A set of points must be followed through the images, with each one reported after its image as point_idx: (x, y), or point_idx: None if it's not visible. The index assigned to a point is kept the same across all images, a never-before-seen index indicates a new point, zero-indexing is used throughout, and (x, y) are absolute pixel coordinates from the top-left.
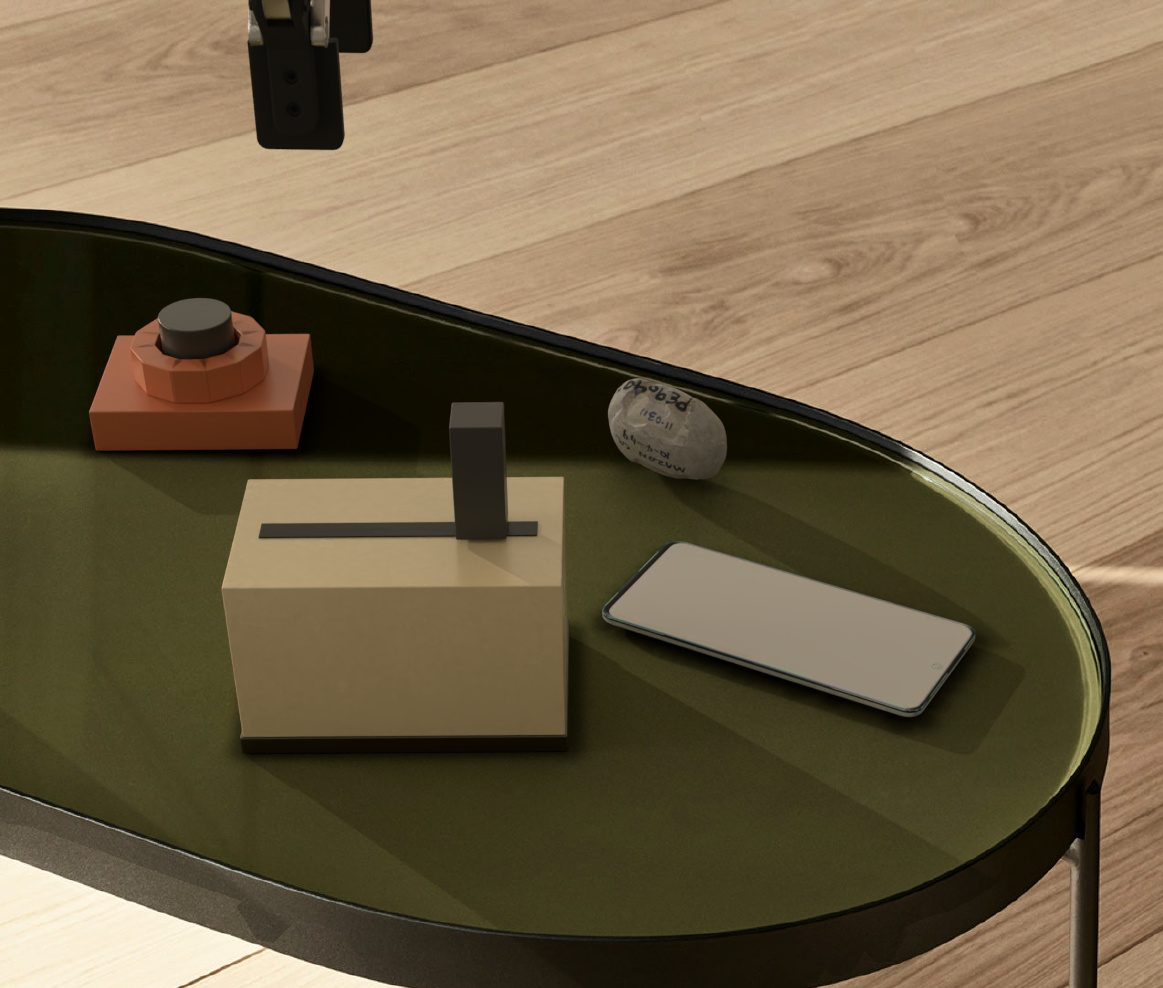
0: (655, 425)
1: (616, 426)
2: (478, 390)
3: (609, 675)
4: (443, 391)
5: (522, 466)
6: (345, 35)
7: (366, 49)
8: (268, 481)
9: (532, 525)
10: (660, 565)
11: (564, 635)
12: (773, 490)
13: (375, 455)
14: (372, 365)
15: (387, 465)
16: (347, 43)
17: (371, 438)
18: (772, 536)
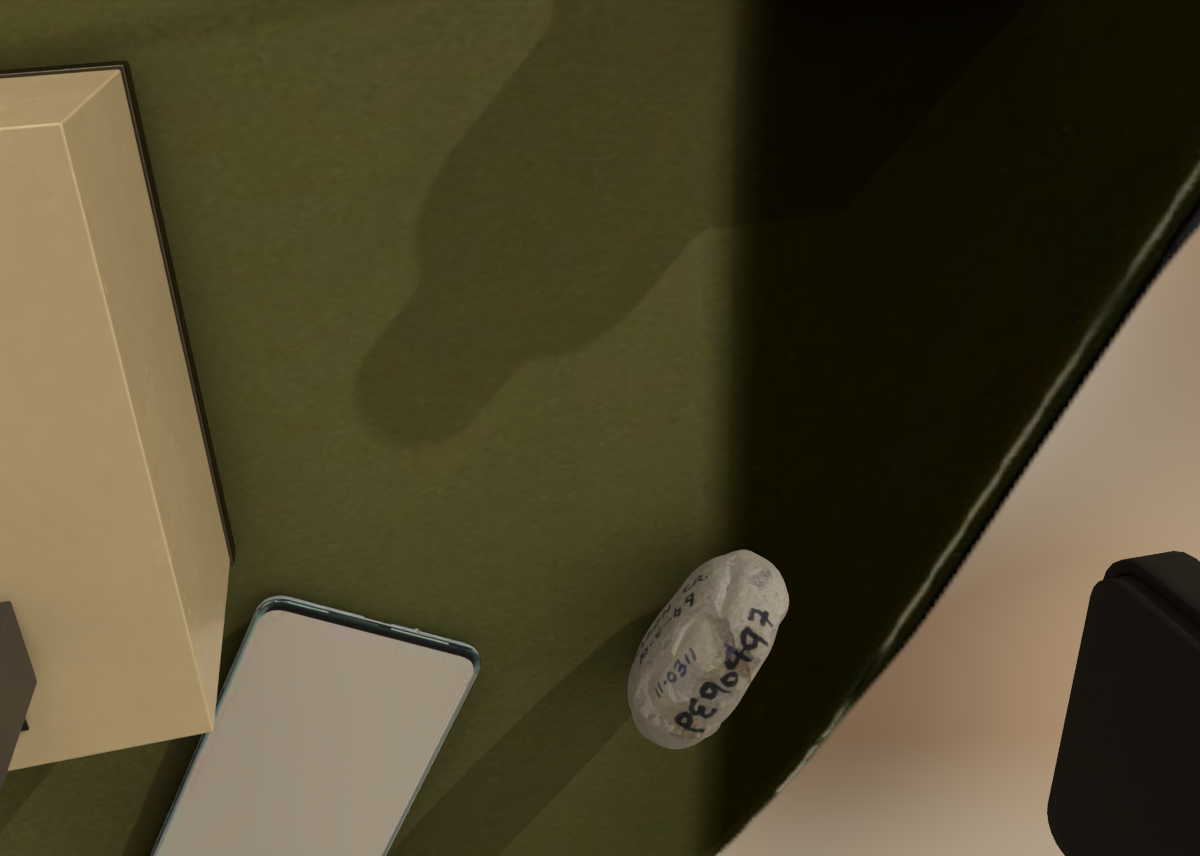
0: (666, 668)
1: (706, 588)
2: (955, 288)
3: None
4: (958, 229)
5: (715, 399)
6: (1106, 804)
7: (1051, 829)
8: (61, 175)
9: None
10: (409, 653)
11: None
12: None
13: (754, 148)
14: (1061, 84)
15: (721, 176)
16: (1082, 783)
17: (812, 129)
18: (531, 751)
